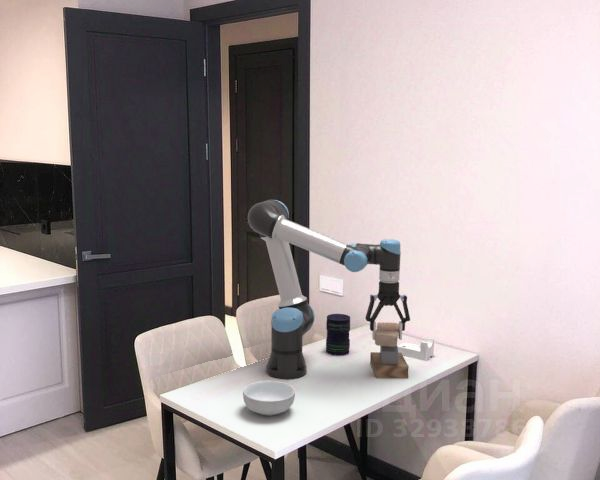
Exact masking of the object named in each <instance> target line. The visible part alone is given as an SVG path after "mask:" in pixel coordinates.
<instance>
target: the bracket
mask: <svg viewBox="0 0 600 480" xmlns="http://www.w3.org/2000/svg"><path fill="white" fill-rule="evenodd" d="M434 347H435V338H431V337H427V339H426V341H420V345H419V344H415V343H409V342H406V341H405V342H403V343H401V344H398V345H397V348H398V352H401V353H402V355H403V357H408V358H413V359H416V360H421V361H428V360H430V358H431V356H433V355H434Z"/></svg>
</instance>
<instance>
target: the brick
mask: <svg viewBox="0 0 600 480" xmlns="http://www.w3.org/2000/svg"><path fill="white" fill-rule="evenodd" d="M398 334H399V322H377V323H376V333H375V340H374V345H376V346H392V347H393V346H398V340H399V338H398Z"/></svg>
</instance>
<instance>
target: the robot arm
mask: <svg viewBox="0 0 600 480" xmlns="http://www.w3.org/2000/svg"><path fill="white" fill-rule="evenodd" d="M289 218H290V214H289V209H288V207H287V206H286V205H285V203H283V202H282V201H279V200H278V199H277V200H276V199H267V200H264V201H262V202H258V203H255V204H254V205H252V206H251V208H250V209H249V211H248V212H247V223H248V225H249V227H250V229H252V231H254V232H255V233H257V234H259V236H260V239H262V240H263V241H264V242H265V244H266V247H267V248H266V249H267V252H268V255H269V259H270V263H271V266H272V272H273V274H274V275H273V276H274V279H275V283H276V286H277V290H278V291H277V292H278V295H279V297H280V301H279V303H278V309H276V310H275V311H274V312H273V313H272V315H271V320H270V325H271V334H270V335H271V338H270V339H271V341H270V343H271V345H270V346H271V348H270V350H271V352H270V355H269V357H268V361H267V364H266V367H265V368H266V371H265V372H266V374H267V375H268V376H270V377H273V378H277V379H284V380H287V379H288V380H290V379H297V378H301V377H304V376H305V375H306V374H307V369H308V368H307V363H306V360H305V357H304V354H303V337H304V335H305V334H306V333H307V332H308V331H310V330H311V329H312V327H313V324H314V322H315V317H316V316H315V311H314V309H313V308H312V306H311V305H310V304H309V302H308V298H307V296H306V295H305V296H304V295H303V293H302V290H301V286H300V282H299V277H298V273H297V269H296V265H295V262H294V259H293V258H294V257H293V254H292V251H291V246H290V244H291V245H294V246H296V247H298V248H301V249H304V250H306V251H308V252H310V253H313V254H315V255H318V256H320V257H323V258H325V259H328V260H330V261H332V262H335V263H337V264H340V265H342V266H344V267H345V268H346V270H348V271H349V272H351V273H359V272H362V271H363V270H364V269H365V268H366V267H367V265H377V266H378V265H379V273H378V276H379V277H378V280H379V281H378V293H377V294H370V295H369V297H370V299H369V300H370V301H369V303H368V308H367V310H366V314H365V320H366V322H369V330H370V331H371V332H372V334H371V335H372V340H373V341H375V333H376V329H377V323H376V319H377V318H378V316H379V314H380V313H381V310H382V309H383V308H384V306H385V307H388V306H390V307H392V306H393V307H394V309H395V311H396V314H397V315H398V317H399V319H400V321H398V324H399V332H398V340H399V341H402V340H403V332H404V331H406V323H407V322H410V321H411V317H410V316H411V315H410V311H409V307H408V303H407V301H408V296H407V295H406V294H402V295H401V294H400V282H399V281H400V271H401V269H400V268H401V254H402V252H401V242H400V240H397V239H391V238H389V239H387V238H386V239H381V240H380V243H379V244H371V243H369V244H367V243H360V242H357V243H352V242H351V243H350V244H348V243H346V242H342V241H341V240H338V239H335V238H334V237H333V238H332V237H330V236H329V235H325V234H323V233H320V232H318V231H316V230H313V229H310V228H309V227H306V226H303V225H302V224H299V223H296V222H294V221H292V220H289ZM377 299H378V301H379V302H378V304H377V306H376V308H375V309H374V312H373V308H374V306H375V301H377ZM399 299H400V301H401V303H402V307H403V312H404V315H403V313H402V310H401V309H400V307H399V305H398V301H399ZM404 316H405V317H404Z"/></svg>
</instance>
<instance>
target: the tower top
mask: <svg viewBox="0 0 600 480" xmlns="http://www.w3.org/2000/svg"><path fill="white" fill-rule="evenodd" d="M397 346H398V345H397ZM397 346H393V347H392V346H380V347H379V349H380V350H379V352H380V355H381V363H382V364H390V365H398V348H397Z"/></svg>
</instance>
